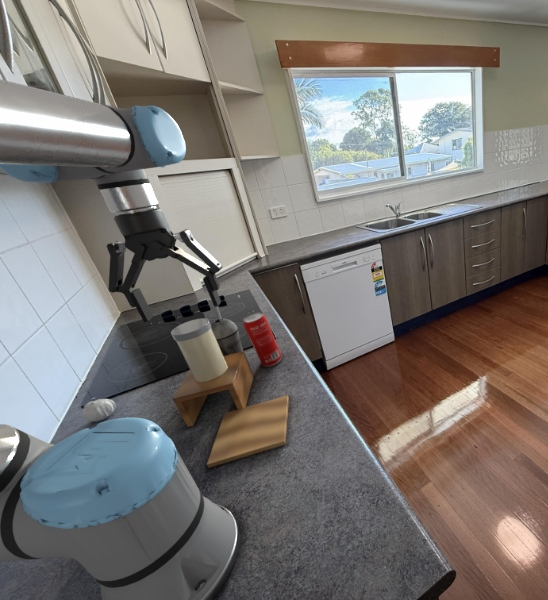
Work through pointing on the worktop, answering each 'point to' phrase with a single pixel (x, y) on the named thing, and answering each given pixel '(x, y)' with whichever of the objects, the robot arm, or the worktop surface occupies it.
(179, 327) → the jar
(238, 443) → the board
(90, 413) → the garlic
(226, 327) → the grey bottle
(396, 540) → the worktop surface
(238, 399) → the shelf
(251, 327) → the beverage can
